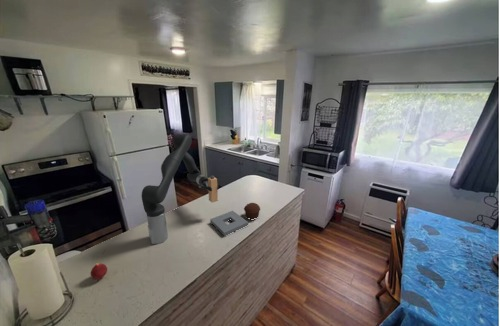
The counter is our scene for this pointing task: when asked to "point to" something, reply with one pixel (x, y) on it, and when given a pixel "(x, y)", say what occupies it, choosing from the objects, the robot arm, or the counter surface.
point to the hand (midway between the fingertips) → (214, 188)
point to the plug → (213, 189)
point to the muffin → (252, 210)
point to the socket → (227, 229)
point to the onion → (98, 271)
